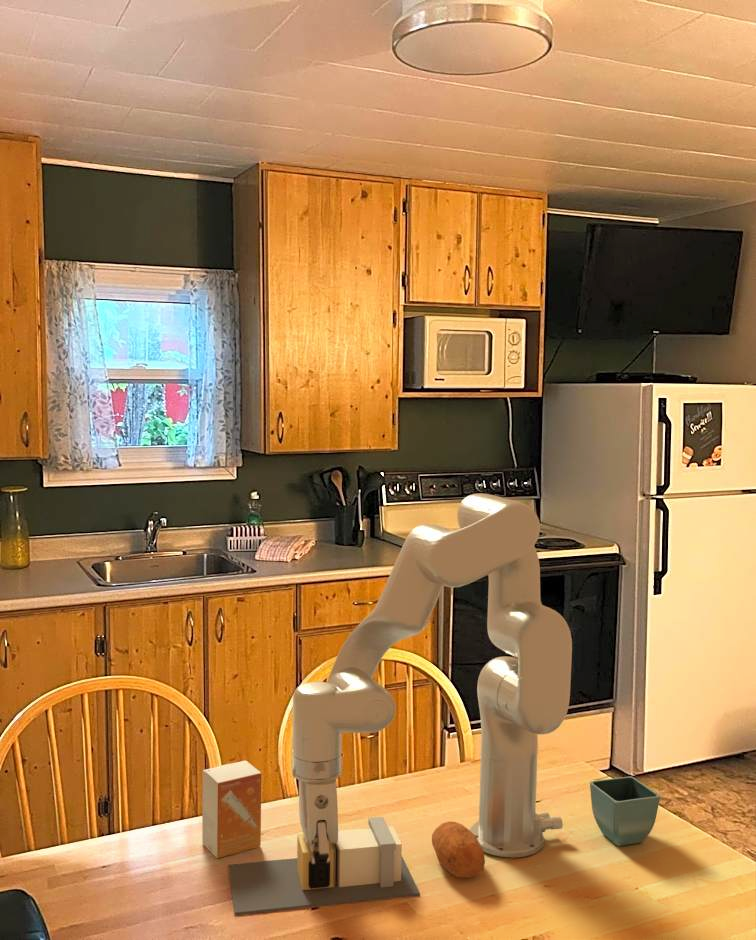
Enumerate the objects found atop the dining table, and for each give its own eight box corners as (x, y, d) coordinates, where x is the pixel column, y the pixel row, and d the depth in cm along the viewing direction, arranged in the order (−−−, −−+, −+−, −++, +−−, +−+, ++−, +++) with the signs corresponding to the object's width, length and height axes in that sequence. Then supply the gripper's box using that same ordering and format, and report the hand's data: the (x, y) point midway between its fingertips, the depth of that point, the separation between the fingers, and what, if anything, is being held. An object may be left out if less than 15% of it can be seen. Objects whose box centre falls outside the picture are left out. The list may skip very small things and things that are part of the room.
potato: (445, 890, 148) (446, 846, 148) (425, 850, 161) (426, 809, 160) (490, 886, 150) (491, 842, 149) (466, 846, 162) (467, 806, 161)
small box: (217, 860, 156) (217, 783, 155) (201, 843, 162) (201, 769, 160) (262, 847, 161) (262, 772, 160) (245, 831, 166) (245, 759, 165)
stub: (328, 867, 154) (329, 830, 153) (335, 887, 148) (335, 849, 147) (297, 870, 153) (297, 833, 152) (302, 890, 147) (302, 852, 146)
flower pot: (630, 823, 171) (632, 775, 170) (659, 846, 163) (661, 795, 162) (586, 830, 169) (588, 781, 168) (614, 854, 160) (616, 802, 159)
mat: (398, 850, 160) (398, 848, 160) (419, 895, 147) (420, 893, 147) (228, 867, 154) (228, 864, 154) (234, 915, 141) (234, 912, 141)
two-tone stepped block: (389, 857, 157) (390, 816, 157) (403, 886, 149) (404, 842, 148) (329, 863, 155) (329, 821, 154) (339, 892, 146) (339, 848, 146)
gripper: (351, 785, 141) (349, 902, 143) (331, 741, 157) (330, 846, 159) (300, 789, 139) (299, 908, 141) (285, 744, 156) (285, 850, 158)
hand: (315, 874), depth 150 cm, fingers closed on stub, 6 cm apart
